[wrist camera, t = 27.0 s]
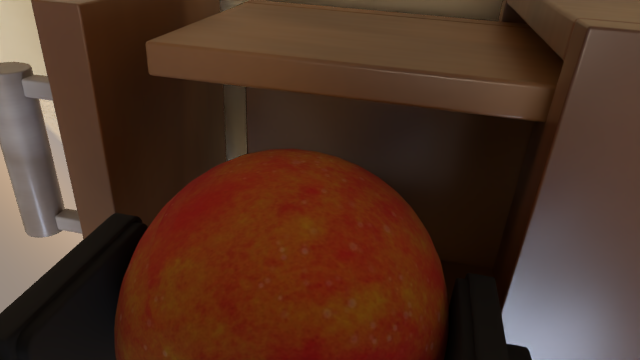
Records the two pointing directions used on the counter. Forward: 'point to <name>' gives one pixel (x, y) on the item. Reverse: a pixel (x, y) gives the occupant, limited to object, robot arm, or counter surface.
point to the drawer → (281, 109)
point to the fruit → (284, 268)
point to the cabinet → (580, 191)
